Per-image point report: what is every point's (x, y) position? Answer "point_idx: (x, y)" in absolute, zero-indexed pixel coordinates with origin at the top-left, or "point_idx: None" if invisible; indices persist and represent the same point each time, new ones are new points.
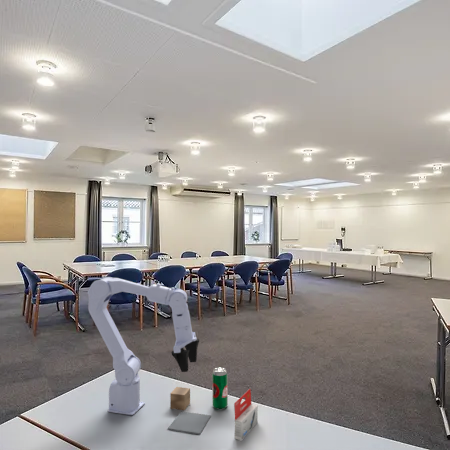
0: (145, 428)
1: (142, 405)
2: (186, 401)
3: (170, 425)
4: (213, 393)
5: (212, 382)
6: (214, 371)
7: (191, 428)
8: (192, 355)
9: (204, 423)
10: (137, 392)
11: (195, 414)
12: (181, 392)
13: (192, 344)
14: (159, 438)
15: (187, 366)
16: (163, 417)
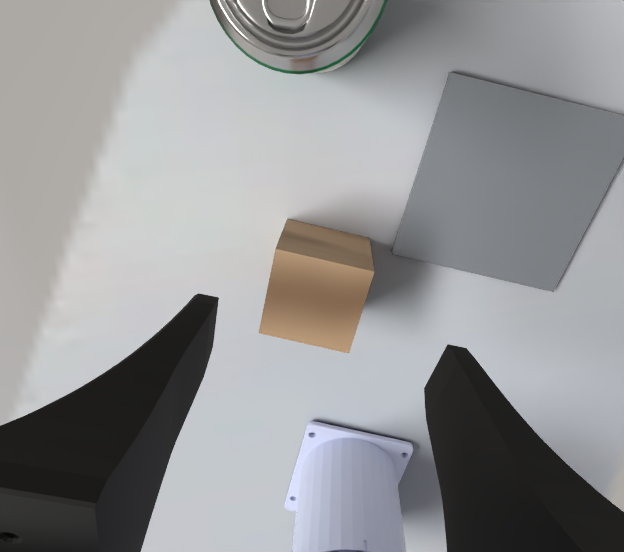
0: (521, 378)
1: (334, 427)
2: (340, 243)
3: (531, 283)
4: (348, 60)
5: (326, 70)
6: (345, 37)
7: (583, 174)
8: (191, 374)
9: (543, 103)
10: (370, 503)
11: (433, 171)
12: (336, 294)
13: (132, 503)
14: (618, 310)
15: (487, 380)
16: (434, 325)
